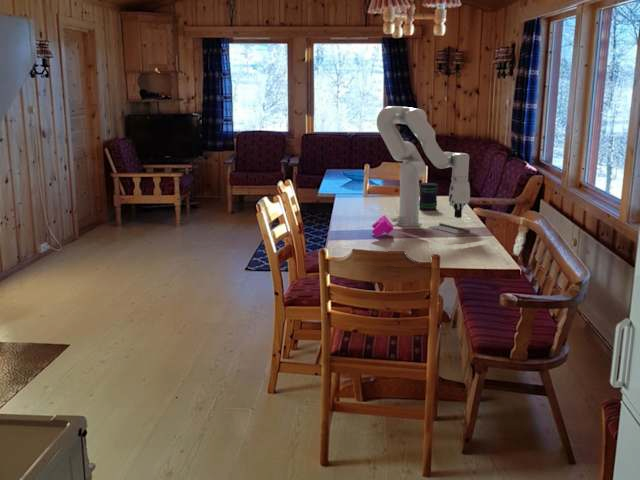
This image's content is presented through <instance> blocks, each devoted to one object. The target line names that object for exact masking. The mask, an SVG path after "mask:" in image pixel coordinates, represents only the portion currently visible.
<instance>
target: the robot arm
mask: <svg viewBox="0 0 640 480" xmlns="http://www.w3.org/2000/svg"><path fill="white" fill-rule="evenodd" d="M427 115H428V114H427V113H426V111H425V110H423V109H421V108H414V107H408V106H400V105H399V106H398V105H397V106H396V105H391V106H390V105H389V106H385V107H383V108H382V109H381V110H380V111H379V113H378V114H377V116H376V117H377V118H376V127H377V130H378V133H379V134H380V136H381V138H382V140H383V141H384V143H385V145H386V147H387V149H388V152H389V153H390V155H391V156H392V158H393V159H394V161H397V162H402V163H403V164H402V165H400V166H399V171H398V173H399V174H398V175H399V210H398V212H399V214H398V215H397V217H392V218H390V219H391V223H395V224H396V225H397V226H398V225H399V226H403V227H416V226H421V225H422V222H421V221H420V220H419V212H420V211H419V210H420V209H419V200H420V180H419V179H421V178H423V177H424V176H425V175H426V172H427V167H426V166H427V165H426V163H425V161H424V160H423V158H422V156H421V154H420V153H419V151H418V149H417V147H416V145H415V144H414V143H413V142H411V141H408V140H407V141H406V140H404V138H403V137H402V135H401V133H400V131H399V129H398V128H396V126H395V124H400V125H406V126H408V128H409V130H411V132H412V133H413V135H414V136H415V137H416V139H417V140H418V141H419V142H420V144H421V145H420V146H421V147H422V150H423V152H424V154H425V156H426V157H427V158H428V160H429V161H430V162H431V164H432V165H433V166H434V167H435V168H437V169H441V170H443V169H447V168H452V169H451V170H452V171H451V178H450V180H451V182H450V185H449V186H450V187H449V192H448V202H449V206H451V207H453V210H454V214H453V215H454V218H456V219H461V218H462V213H463V209H464V207H465V206H466V205H468V204H469V203H470V201H471V189H470V188H471V186H470V181H469V170H470V168H469V165H470V155H469V154H468V153H465V152H451V151H443V150H442V149H441V147H440V146H439V144H438V142H437V141H436V140H437V139H436V131H435V129H434V128H433V127H432V126H431V124H430V123H429V122H428V116H427Z"/></svg>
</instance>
